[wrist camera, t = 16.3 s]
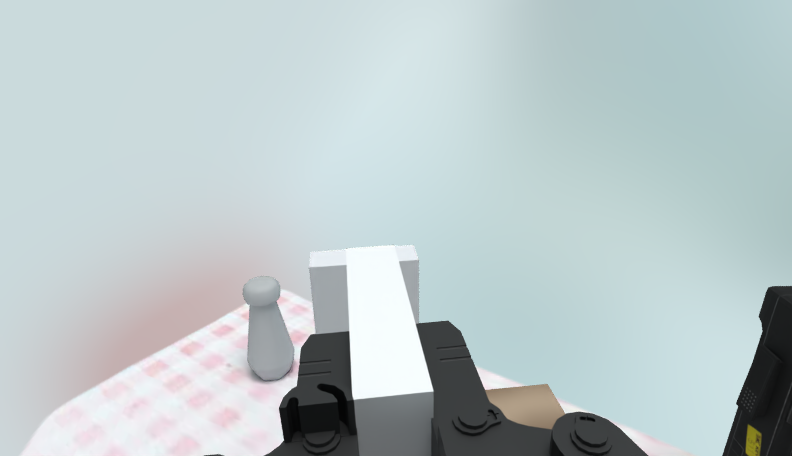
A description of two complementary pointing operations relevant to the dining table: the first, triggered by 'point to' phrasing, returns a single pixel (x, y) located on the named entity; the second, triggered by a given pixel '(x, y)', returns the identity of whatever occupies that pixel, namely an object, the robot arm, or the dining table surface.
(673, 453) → the dining table surface
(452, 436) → the robot arm
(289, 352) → the salt shaker
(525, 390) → the wooden cabinet
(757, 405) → the portable radio
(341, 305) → the sliding door
